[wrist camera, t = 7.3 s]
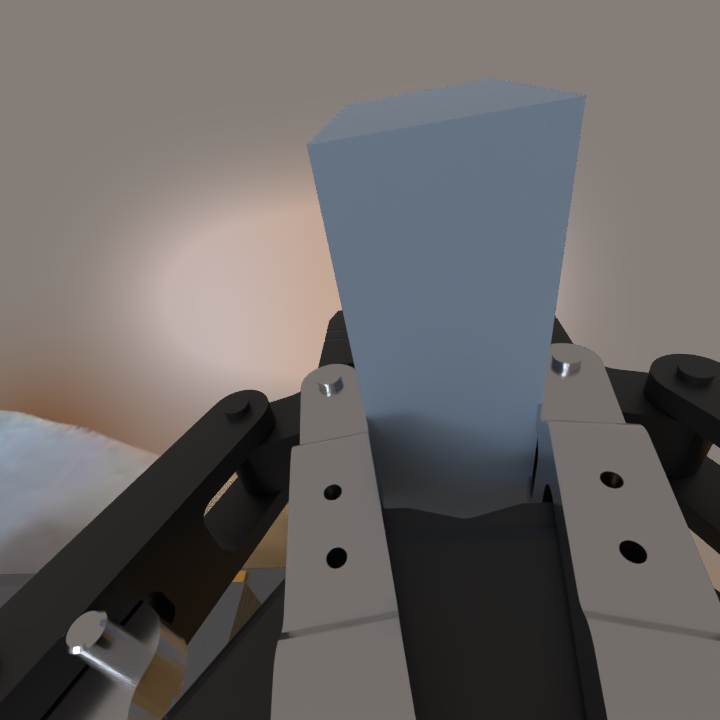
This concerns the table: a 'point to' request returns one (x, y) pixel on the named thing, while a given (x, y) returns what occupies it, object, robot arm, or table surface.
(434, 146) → the tall blue-grey pillar
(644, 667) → the robot arm
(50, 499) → the table surface
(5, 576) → the rack
